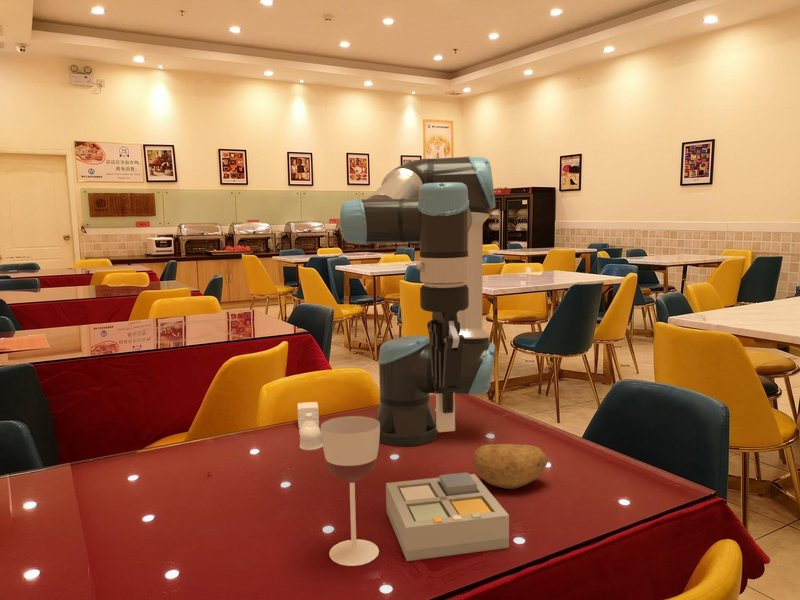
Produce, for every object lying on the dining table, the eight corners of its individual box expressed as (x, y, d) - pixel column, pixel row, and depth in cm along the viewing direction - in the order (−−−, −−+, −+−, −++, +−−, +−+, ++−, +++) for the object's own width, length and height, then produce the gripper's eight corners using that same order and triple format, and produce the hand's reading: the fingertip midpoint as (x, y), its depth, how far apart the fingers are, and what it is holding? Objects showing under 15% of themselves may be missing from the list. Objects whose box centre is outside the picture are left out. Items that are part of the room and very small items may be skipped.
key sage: (409, 522, 96) (408, 506, 95) (439, 518, 97) (439, 503, 96) (416, 537, 91) (416, 521, 90) (448, 533, 92) (448, 517, 91)
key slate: (439, 489, 104) (439, 475, 103) (467, 486, 105) (467, 472, 104) (447, 502, 99) (447, 487, 98) (476, 499, 100) (476, 484, 99)
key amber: (451, 517, 97) (451, 501, 97) (480, 513, 98) (480, 498, 98) (460, 532, 92) (460, 516, 92) (491, 528, 93) (491, 512, 93)
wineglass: (326, 540, 95) (322, 417, 93) (381, 537, 96) (378, 415, 93) (324, 568, 87) (319, 435, 85) (384, 564, 88) (381, 432, 85)
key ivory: (400, 502, 102) (399, 488, 102) (428, 499, 103) (428, 485, 103) (406, 516, 97) (406, 501, 97) (436, 512, 98) (436, 497, 98)
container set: (297, 423, 153) (296, 402, 152) (318, 422, 154) (317, 401, 153) (299, 452, 134) (299, 428, 133) (323, 450, 135) (322, 426, 134)
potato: (554, 495, 109) (555, 453, 108) (477, 498, 109) (477, 455, 108) (539, 473, 119) (540, 434, 118) (469, 476, 119) (469, 436, 118)
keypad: (386, 511, 104) (385, 481, 103) (474, 501, 107) (474, 472, 107) (406, 561, 89) (406, 525, 88) (508, 547, 92) (509, 513, 91)
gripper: (411, 280, 99) (414, 418, 102) (430, 290, 86) (433, 447, 90) (455, 278, 100) (456, 414, 104) (481, 288, 88) (481, 442, 91)
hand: (445, 429), depth 97 cm, fingers closed
